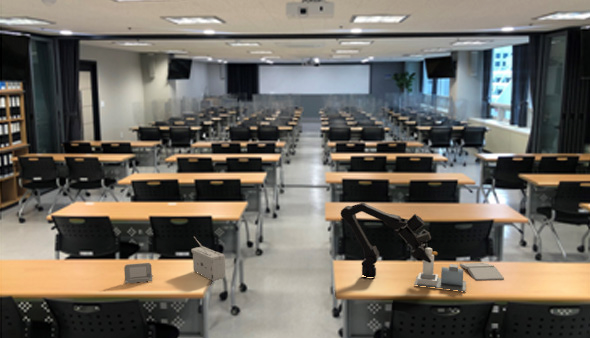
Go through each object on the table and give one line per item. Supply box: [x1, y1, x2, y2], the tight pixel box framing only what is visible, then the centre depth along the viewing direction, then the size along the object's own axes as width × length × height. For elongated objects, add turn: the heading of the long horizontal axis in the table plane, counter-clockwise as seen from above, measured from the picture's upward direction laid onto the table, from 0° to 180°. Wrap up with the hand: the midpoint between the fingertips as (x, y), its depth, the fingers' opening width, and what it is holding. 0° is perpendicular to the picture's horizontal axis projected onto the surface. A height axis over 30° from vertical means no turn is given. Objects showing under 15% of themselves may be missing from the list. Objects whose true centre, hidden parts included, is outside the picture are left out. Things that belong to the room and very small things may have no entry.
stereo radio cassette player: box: [191, 236, 226, 282], centre depth 266 cm, size 21×8×20 cm, turn 42°
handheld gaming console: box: [123, 262, 154, 285], centre depth 261 cm, size 13×9×10 cm
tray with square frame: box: [413, 263, 467, 293], centre depth 251 cm, size 24×13×10 cm, turn 70°
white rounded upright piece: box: [422, 247, 438, 275], centre depth 251 cm, size 7×5×12 cm
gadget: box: [459, 262, 505, 281], centre depth 268 cm, size 23×15×4 cm, turn 3°
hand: (431, 260), depth 251 cm, fingers closed on white rounded upright piece, 5 cm apart
